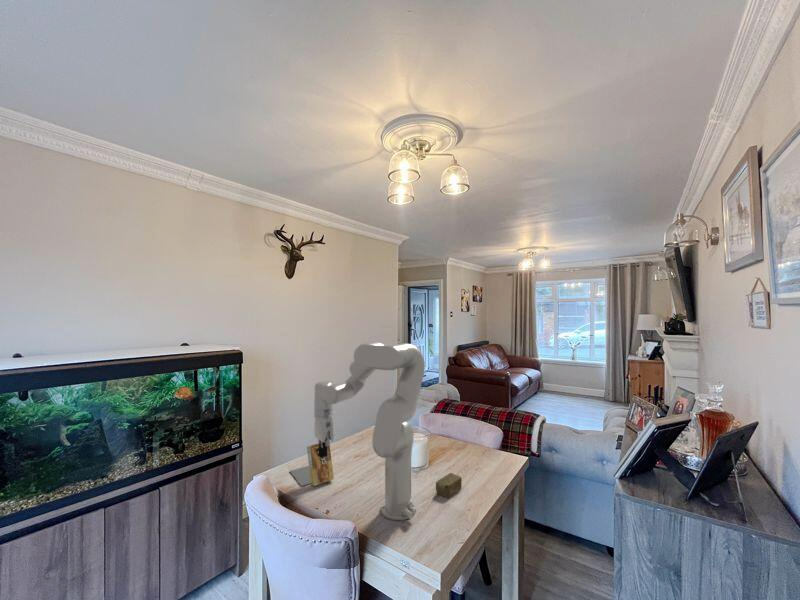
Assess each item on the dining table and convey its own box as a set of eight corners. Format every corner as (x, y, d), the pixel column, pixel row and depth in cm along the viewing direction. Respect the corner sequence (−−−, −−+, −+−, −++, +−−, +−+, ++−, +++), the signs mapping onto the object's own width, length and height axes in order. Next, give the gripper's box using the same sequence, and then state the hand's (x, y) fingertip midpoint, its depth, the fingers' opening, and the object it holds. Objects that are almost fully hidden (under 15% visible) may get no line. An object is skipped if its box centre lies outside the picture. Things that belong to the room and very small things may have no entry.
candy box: (330, 478, 143) (325, 441, 148) (334, 479, 140) (329, 440, 145) (311, 485, 138) (306, 446, 142) (315, 486, 135) (310, 445, 139)
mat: (333, 477, 145) (333, 476, 145) (301, 486, 137) (301, 485, 137) (319, 463, 158) (319, 462, 158) (289, 471, 150) (289, 470, 150)
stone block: (434, 494, 132) (434, 481, 132) (450, 483, 140) (450, 471, 140) (447, 499, 128) (446, 486, 128) (462, 488, 136) (462, 475, 136)
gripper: (339, 415, 136) (338, 460, 136) (324, 406, 148) (324, 448, 148) (322, 418, 132) (321, 465, 131) (308, 409, 144) (307, 452, 143)
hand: (322, 456), depth 139 cm, fingers closed
